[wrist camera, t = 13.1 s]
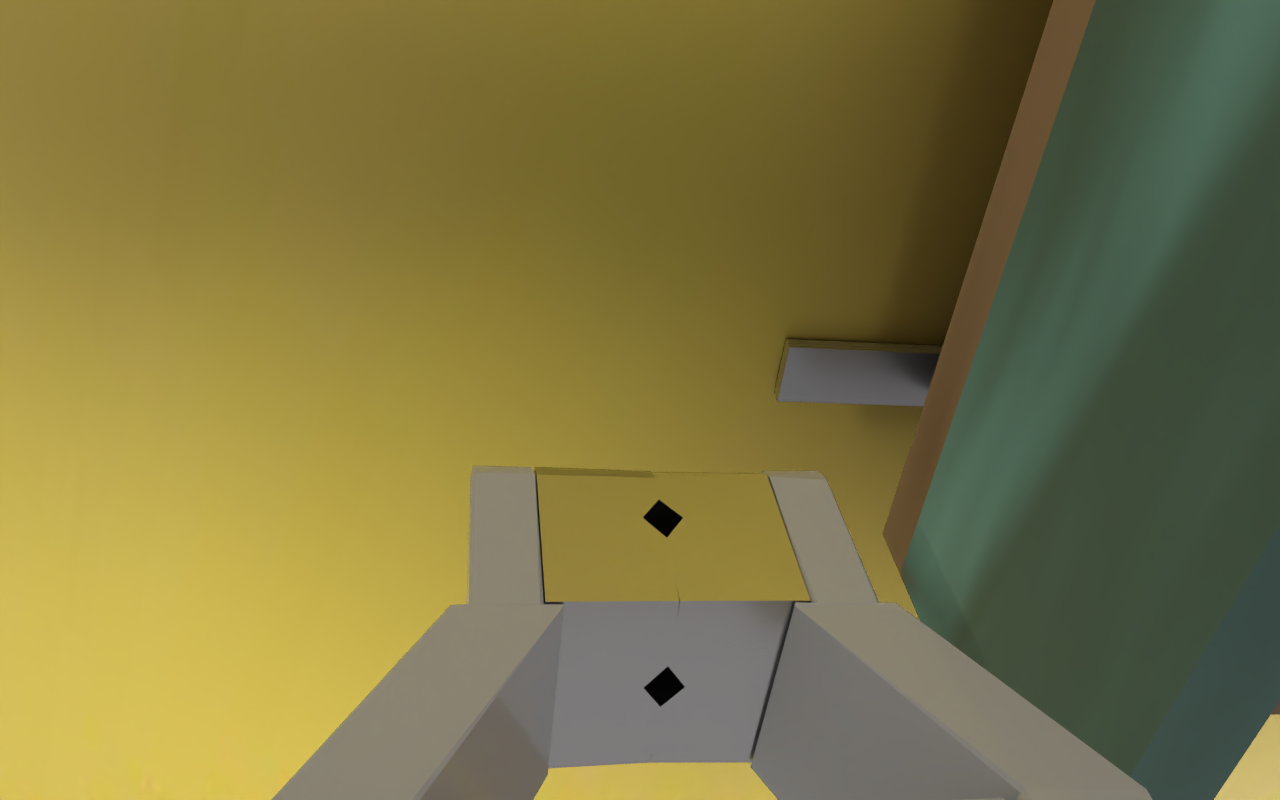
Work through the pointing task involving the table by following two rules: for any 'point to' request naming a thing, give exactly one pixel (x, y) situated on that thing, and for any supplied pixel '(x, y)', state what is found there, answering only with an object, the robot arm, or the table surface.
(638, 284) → the table surface
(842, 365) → the rails
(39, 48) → the table surface
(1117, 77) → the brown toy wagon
